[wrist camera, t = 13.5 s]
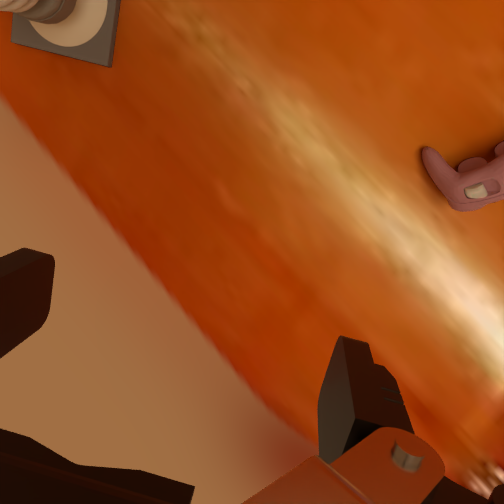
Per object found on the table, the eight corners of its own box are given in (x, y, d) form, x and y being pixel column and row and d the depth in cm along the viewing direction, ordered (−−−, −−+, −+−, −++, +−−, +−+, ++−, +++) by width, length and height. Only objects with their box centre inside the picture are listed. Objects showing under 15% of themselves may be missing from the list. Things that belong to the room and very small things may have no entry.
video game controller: (427, 186, 41) (463, 231, 35) (413, 147, 38) (450, 189, 33) (536, 132, 39) (593, 171, 33) (530, 86, 36) (591, 121, 30)
